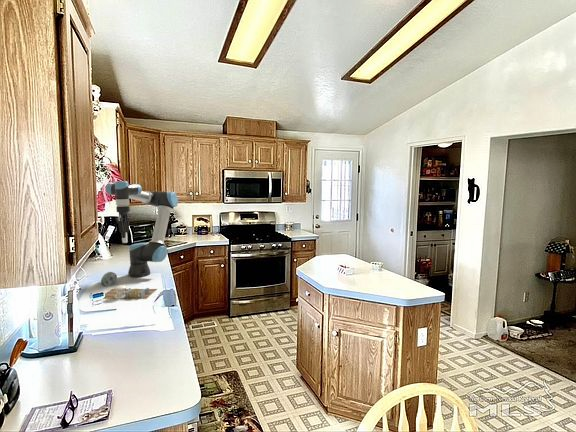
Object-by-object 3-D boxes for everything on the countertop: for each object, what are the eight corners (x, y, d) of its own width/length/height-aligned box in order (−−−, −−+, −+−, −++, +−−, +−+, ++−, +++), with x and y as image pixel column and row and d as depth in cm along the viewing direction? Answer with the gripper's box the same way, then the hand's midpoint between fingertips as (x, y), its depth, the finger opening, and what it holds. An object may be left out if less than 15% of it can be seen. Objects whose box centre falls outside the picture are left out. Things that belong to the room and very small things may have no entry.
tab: (133, 295, 211) (133, 288, 211) (140, 295, 211) (139, 288, 211) (129, 298, 206) (129, 291, 206) (136, 298, 206) (136, 291, 206)
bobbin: (117, 294, 212) (117, 285, 211) (129, 294, 212) (128, 285, 211) (112, 299, 205) (111, 289, 204) (123, 299, 205) (123, 289, 204)
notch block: (129, 293, 214) (129, 287, 214) (149, 293, 214) (149, 287, 214) (123, 298, 206) (122, 292, 206) (143, 298, 206) (143, 292, 206)
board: (112, 290, 223) (112, 288, 223) (157, 290, 223) (157, 288, 223) (96, 300, 205) (96, 298, 205) (146, 300, 205) (146, 299, 205)
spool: (115, 282, 228) (108, 269, 229) (102, 290, 227) (94, 276, 227) (122, 281, 242) (116, 268, 242) (109, 288, 240) (102, 275, 241)
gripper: (121, 204, 227) (123, 240, 230) (111, 206, 214) (114, 244, 217) (133, 204, 227) (135, 240, 230) (123, 206, 214) (126, 244, 217)
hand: (125, 242), depth 223 cm, fingers closed
